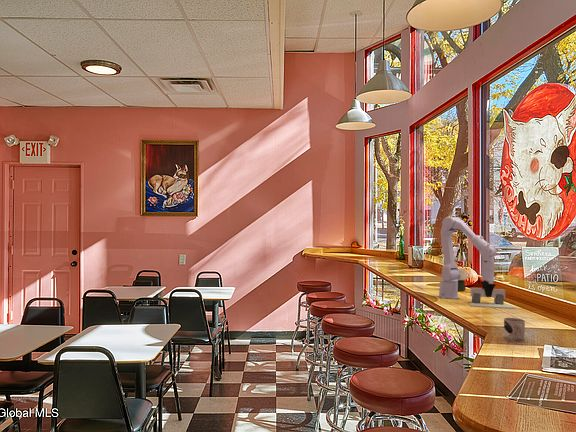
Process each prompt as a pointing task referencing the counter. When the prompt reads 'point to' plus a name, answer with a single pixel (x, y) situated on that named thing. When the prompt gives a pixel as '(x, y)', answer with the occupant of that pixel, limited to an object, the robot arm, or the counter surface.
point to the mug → (514, 329)
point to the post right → (499, 300)
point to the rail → (483, 292)
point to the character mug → (462, 279)
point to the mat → (491, 305)
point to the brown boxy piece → (476, 298)
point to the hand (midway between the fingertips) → (487, 296)
